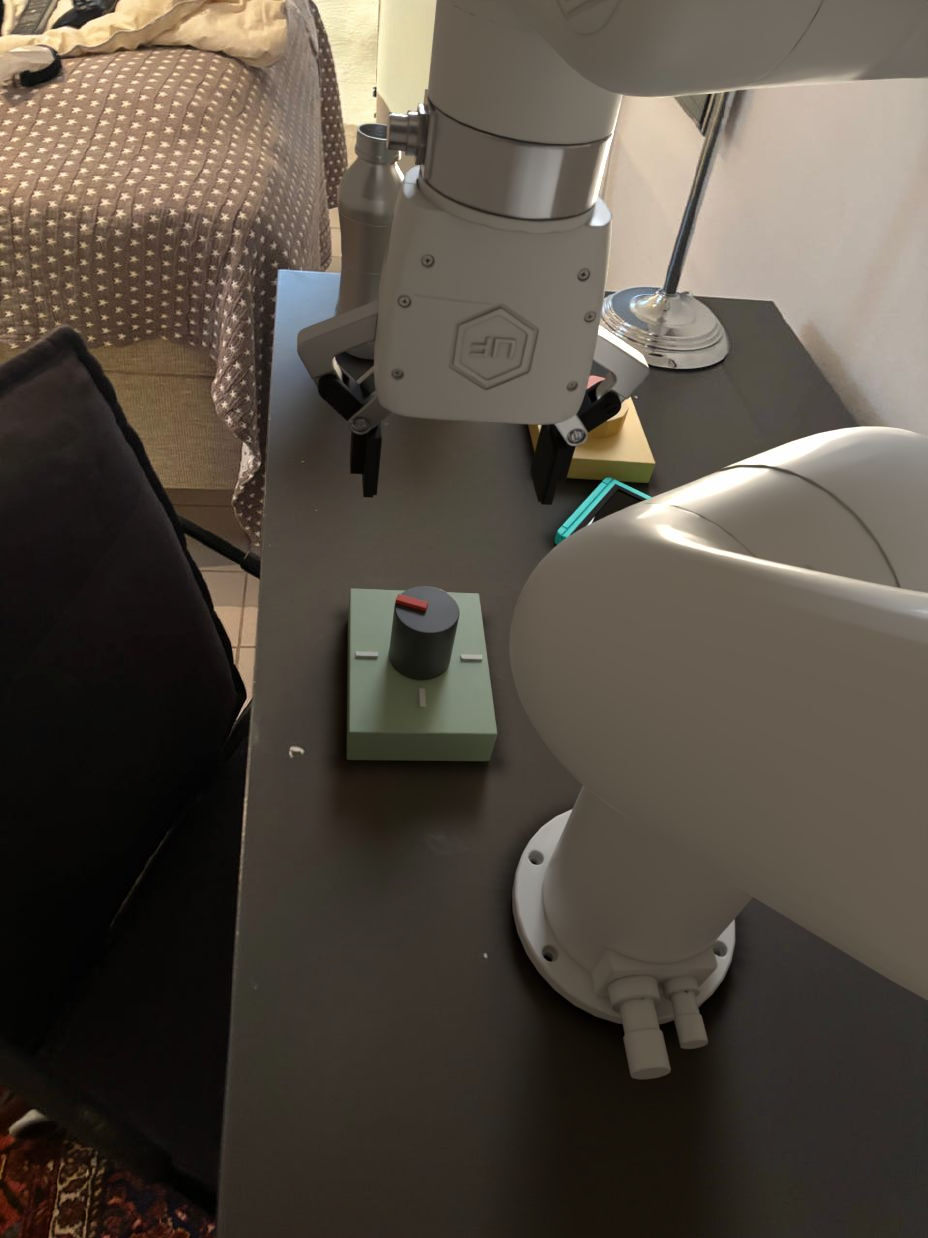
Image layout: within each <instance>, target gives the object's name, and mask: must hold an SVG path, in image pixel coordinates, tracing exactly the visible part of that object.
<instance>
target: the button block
mask: <svg viewBox="0 0 928 1238" xmlns="http://www.w3.org/2000/svg"><path fill="white" fill-rule="evenodd" d="M570 385H571V384H570ZM570 387H571V386H570ZM631 396H632V395H631ZM631 396H630V398H629V399H628V400H627V399H626V400H625V401H624V402H623V403H622V404H621V410H620V411H619V413H618V414H616V415H615V416H613V417H612V418H610V419H609V420H607V421H606V422H604V423H603V424H601V425H599V426H598V427H596V428H595V429H593V430H592V431H590V432H588V438H587V440H586V441H585V443H583V444H582V445H579V446H576V447H575V451H574V454H573V458H572V461H571V465H570V468H569V472H568V475H567V478H566V479H579V480H594V481H595V480H596V481H603V480H604V479H605V478H607V477H610V478H612V480H614V479H615V480H617V481H619V482H627V483H628V482H629V483H643V484H649V483H650V479H651V477H652V475H653V473H654V469H655V466H656V461H655V458H654V456H653V453H652V450H651V448H650V445H649V442H648V439H647V437H646V434H645V431H644V429H643V426H642V423H641V420H640V417H639V415H638V412H637V410H636V407H635V404H634V401H633V399H632V397H631ZM527 427H528V431H529V435H530V439H531V443H532V448H533V452H534V453H535V449H536V445H537V441H538V437H539V433H540V429H541V425H530V424H527ZM534 453H533V454H534Z"/></svg>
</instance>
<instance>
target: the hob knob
mask: <svg viewBox="0 0 928 1238" xmlns="http://www.w3.org/2000/svg"><path fill="white" fill-rule="evenodd" d="M403 591H404V592H403V593H401V594H398V596H397V598H396V602H395V606H394V614H393V622H392V631H391V639H390V647H389V659H390V662H391V664H392V666H393V667H394V668H395V669H396V670H397V671H398V672H399V673H400V674H402V675H403V676H406V677H408V678H411V679H415V680H429V679H433V678H436V677H438V676H440V675H441V674H442V673H444V672H445V671H446V669H447V668H448V666H449V664H450V660H451V655H452V650H453V645H454V640H455V635H456V630H457V625H458V620H459V615H460V611H459V606H458V604H457V602H456V601H455V599H454V598H453V597H452V596H451V595H450V594H448V593H447V591H445V590H443V589H441V588H439V587H434V586H429V585H418V586H412V587H410V588H408V589H406V590H403Z"/></svg>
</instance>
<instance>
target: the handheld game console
mask: <svg viewBox="0 0 928 1238" xmlns="http://www.w3.org/2000/svg"><path fill="white" fill-rule="evenodd" d="M652 497H653V496H650V495H648V494H646V493H644V492H642V491H640V490H637V488H636V489H635V488H633V487H631V486H629V485H628V484H625V483H624V482H622V481H617V480H615V479H614V480H612V478H610V477H607V478H605V479H604V480H601V482H600V483H599V484H598V486H597V487H596V488H595V489H594V490H593V491H592V492H591V493H590V494H589V495H588V496H587V498H586V499H585V500H584V501H583V502H582V503H581V504H580V505H579V506H578V507H577V508H576V509H575V510H574V511H573V513H572V514H571V515H570V516H569V517H568V518H567V519H566V520H565V521H564V522H563V523H562V525H561V526H560V527H559V528H558V529H557V530H556V534H555V538H554V544H555V545H556V546H557V545H558V544H559V543H560V542H562V541H563V540H564V539H566V538H567V537H569V536H570V535H572V534H573V533H575V532H577V531H578V530H580V529H582V528H583V527H585V526H587V525H590V524H592V523H594V522H596V521H598V520H600V519H602V518H604V517H606V516H608V515H611V514H613V513H615V512H618V511H620V510H623V509H624V508H626V507H629V506H632V505H634V504H637V503H639V502H642V501H644V500H647V499H649V498H652Z"/></svg>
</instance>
